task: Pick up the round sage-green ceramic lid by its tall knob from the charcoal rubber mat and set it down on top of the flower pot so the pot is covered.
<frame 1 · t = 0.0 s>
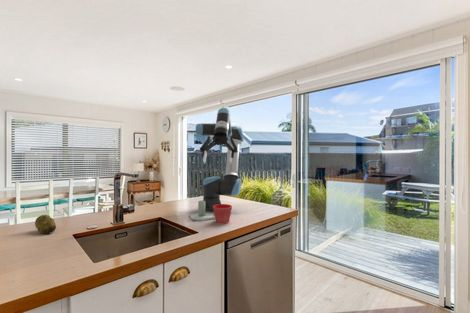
hand: (216, 162, 129), 36 cm above the worktop, tool tilted 35°, fingers open, 13 cm apart
lid: (201, 217, 156), resting on mat
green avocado: (45, 232, 128), on the worktop
mat: (201, 218, 156), on the worktop
flower pot: (222, 222, 147), on the worktop
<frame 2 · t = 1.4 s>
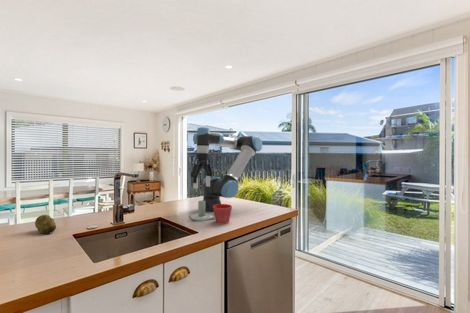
hand: (201, 187, 154), 19 cm above the worktop, tool pointing down, fingers open, 13 cm apart
nothing on the worktop moved.
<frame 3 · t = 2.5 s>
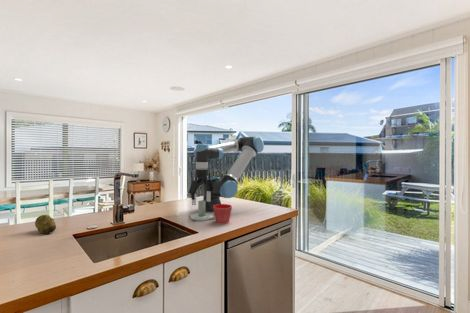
hand: (201, 203, 155), 9 cm above the worktop, tool pointing down, fingers open, 13 cm apart
nothing on the worktop moved.
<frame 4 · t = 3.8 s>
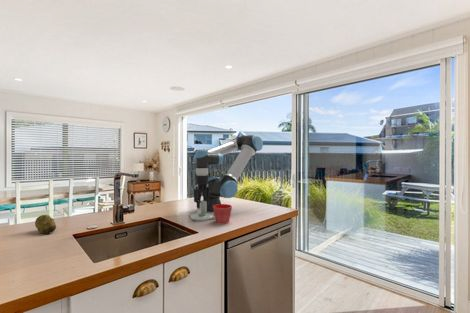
hand: (201, 212, 156), 4 cm above the worktop, tool pointing down, fingers closed on lid, 4 cm apart
lid: (201, 217, 156), resting on mat, touching gripper
everything else where it was.
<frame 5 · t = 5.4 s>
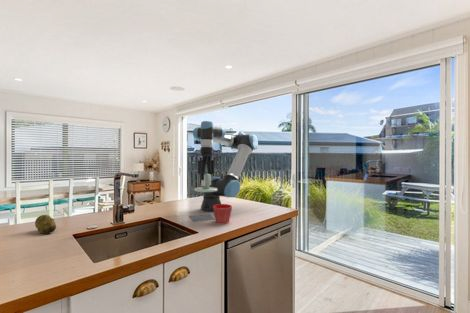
hand: (206, 185, 152), 21 cm above the worktop, tool pointing down, fingers closed on lid, 4 cm apart
lid: (205, 190, 153), point 18 cm above the worktop, touching gripper
everything else where it was.
when the fingers open (15 cm above the worktop, at t = 7.3 s): lid drops 2 cm, resting on flower pot.
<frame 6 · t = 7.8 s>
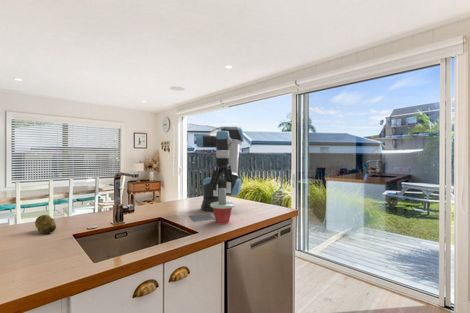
hand: (222, 194, 147), 16 cm above the worktop, tool pointing down, fingers open, 12 cm apart
lid: (222, 205, 147), point 10 cm above the worktop, touching flower pot
flower pot: (222, 222, 147), on the worktop, touching lid
everything else where it was.
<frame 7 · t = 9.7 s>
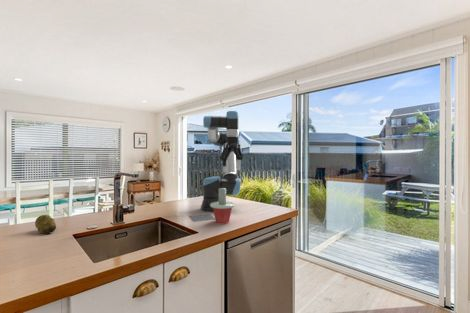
hand: (232, 170, 155), 30 cm above the worktop, tool pointing down, fingers open, 13 cm apart
nothing on the worktop moved.
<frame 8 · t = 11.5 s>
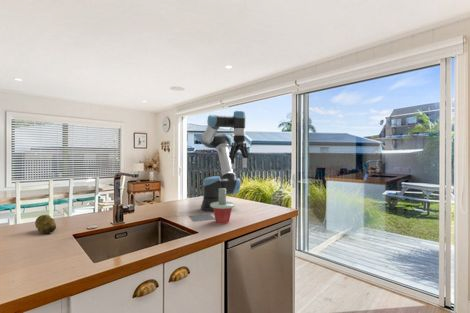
hand: (239, 168, 162), 31 cm above the worktop, tool pointing down, fingers open, 13 cm apart
nothing on the worktop moved.
at the end: lid inside the target area on the flower pot (0.2 cm from its centre), point 9.9 cm above the flower pot's base; lid tilted 0°; the gripper is holding nothing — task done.
